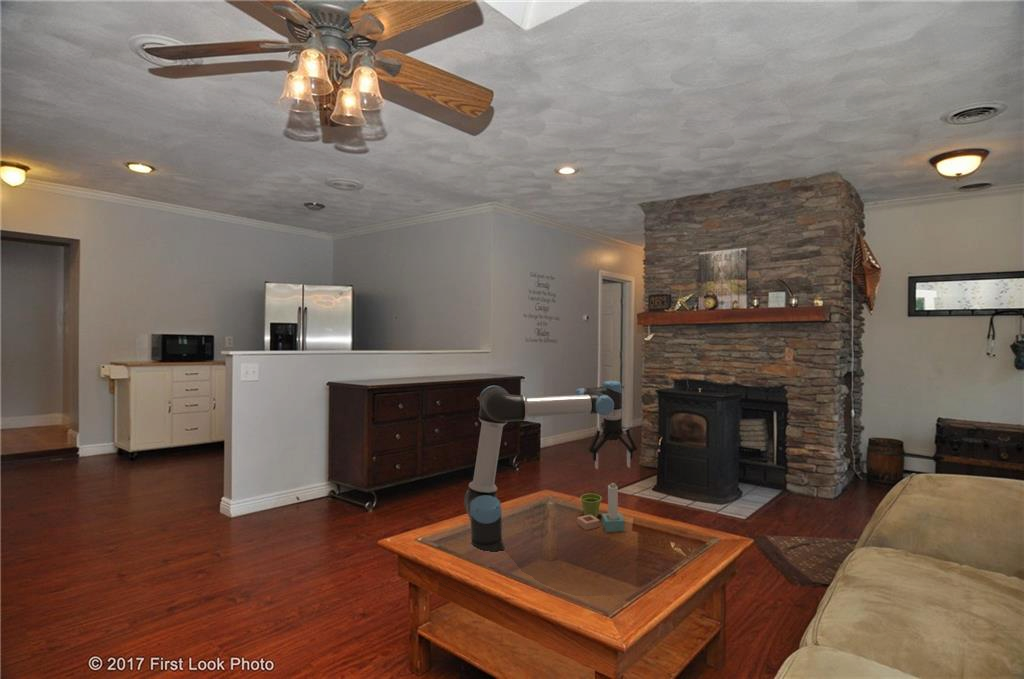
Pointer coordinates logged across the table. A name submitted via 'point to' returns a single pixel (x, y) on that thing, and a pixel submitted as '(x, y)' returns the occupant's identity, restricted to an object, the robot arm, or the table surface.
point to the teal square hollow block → (613, 523)
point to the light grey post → (612, 502)
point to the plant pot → (591, 504)
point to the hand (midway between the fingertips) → (612, 467)
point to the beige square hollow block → (588, 522)
